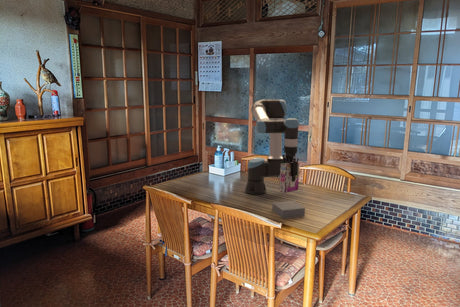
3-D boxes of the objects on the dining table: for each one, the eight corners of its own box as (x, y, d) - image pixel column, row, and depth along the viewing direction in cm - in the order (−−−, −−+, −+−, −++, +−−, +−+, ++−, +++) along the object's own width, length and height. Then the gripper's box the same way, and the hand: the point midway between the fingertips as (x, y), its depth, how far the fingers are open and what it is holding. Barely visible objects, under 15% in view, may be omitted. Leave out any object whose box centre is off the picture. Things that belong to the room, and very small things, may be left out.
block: (272, 210, 211) (272, 202, 210) (292, 208, 215) (293, 200, 214) (282, 219, 198) (282, 210, 197) (304, 216, 202) (304, 208, 201)
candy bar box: (285, 193, 198) (286, 165, 196) (279, 191, 202) (279, 163, 200) (298, 190, 205) (299, 162, 202) (292, 188, 209) (293, 161, 206)
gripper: (276, 143, 206) (275, 181, 211) (293, 148, 189) (292, 190, 193) (287, 143, 209) (286, 180, 213) (305, 148, 192) (303, 188, 196)
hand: (289, 185), depth 203 cm, fingers closed on candy bar box, 6 cm apart
